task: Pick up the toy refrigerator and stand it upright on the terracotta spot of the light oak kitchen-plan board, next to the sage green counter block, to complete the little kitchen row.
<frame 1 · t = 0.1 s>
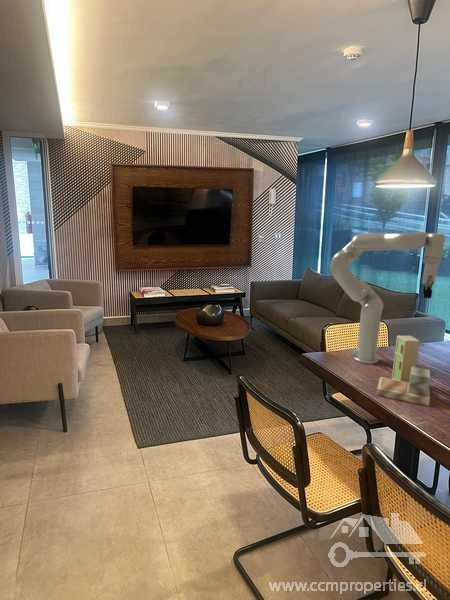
hand: (426, 296, 202), 37 cm above the table, tool pointing down, fingers open, 9 cm apart
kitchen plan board: (402, 393, 181), on the table
toy refrigerator: (401, 382, 193), on the table
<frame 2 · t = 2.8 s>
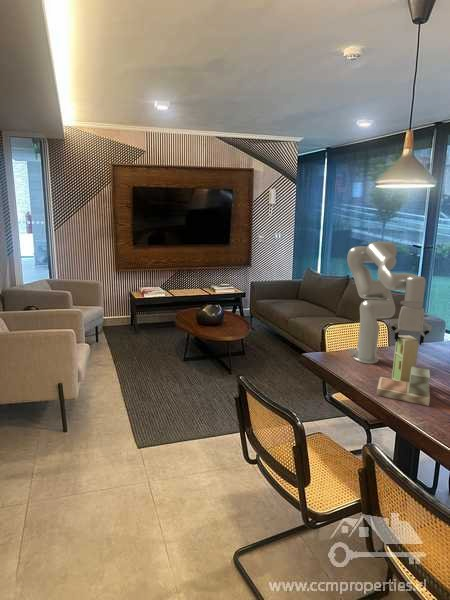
hand: (408, 342, 188), 19 cm above the table, tool pointing down, fingers open, 9 cm apart
toy refrigerator: (401, 382, 193), on the table, touching gripper
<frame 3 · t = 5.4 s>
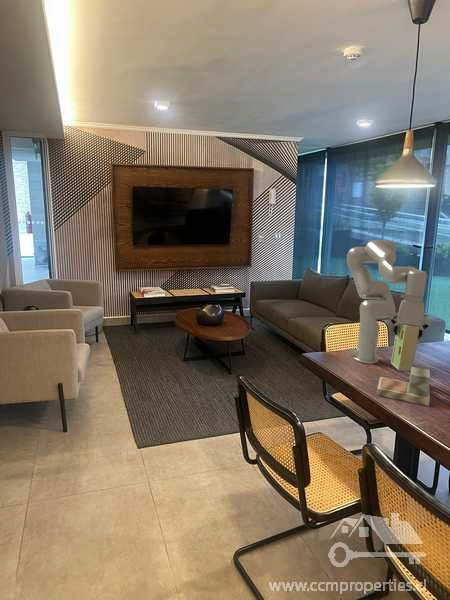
hand: (407, 336, 188), 22 cm above the table, tool pointing down, fingers closed on toy refrigerator, 9 cm apart
toy refrigerator: (400, 367, 193), point 6 cm above the table, touching gripper
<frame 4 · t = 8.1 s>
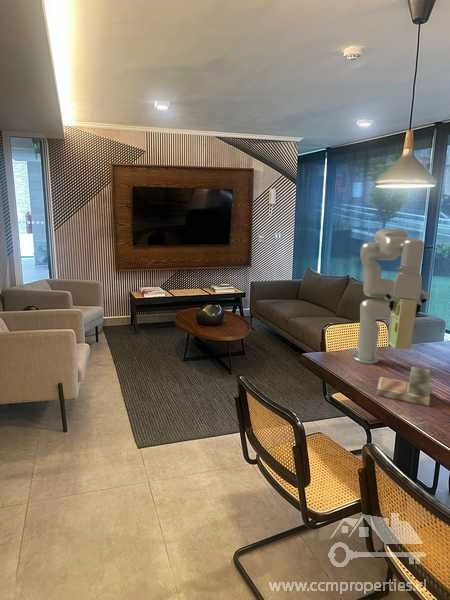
hand: (403, 311, 174), 35 cm above the table, tool pointing down, fingers closed on toy refrigerator, 9 cm apart
toy refrigerator: (397, 346, 179), point 20 cm above the table, touching gripper
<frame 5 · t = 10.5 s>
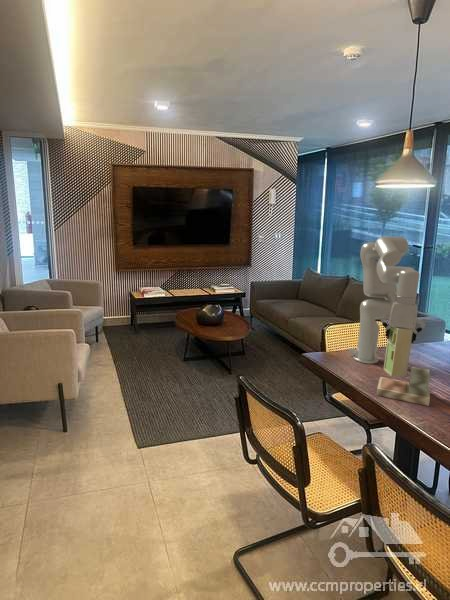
hand: (399, 340, 177), 23 cm above the table, tool pointing down, fingers closed on toy refrigerator, 9 cm apart
toy refrigerator: (393, 373, 181), point 8 cm above the table, touching gripper
when the fingers open (19 cm above the table, at t = 12.6 s): toy refrigerator stays where it is, resting on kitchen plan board.
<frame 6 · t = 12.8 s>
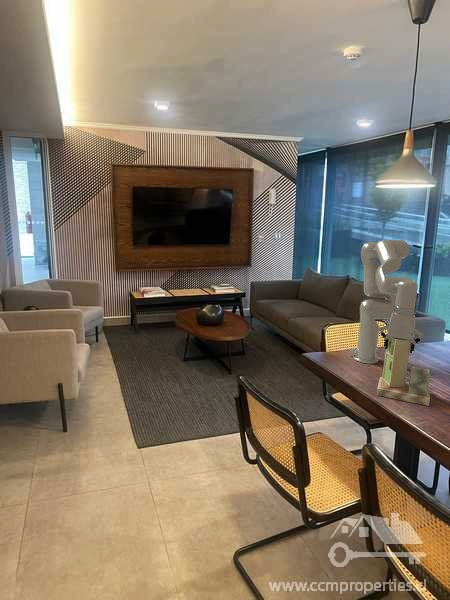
hand: (398, 350, 178), 19 cm above the table, tool pointing down, fingers open, 9 cm apart
toy refrigerator: (391, 384, 183), point 3 cm above the table, touching gripper, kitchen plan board
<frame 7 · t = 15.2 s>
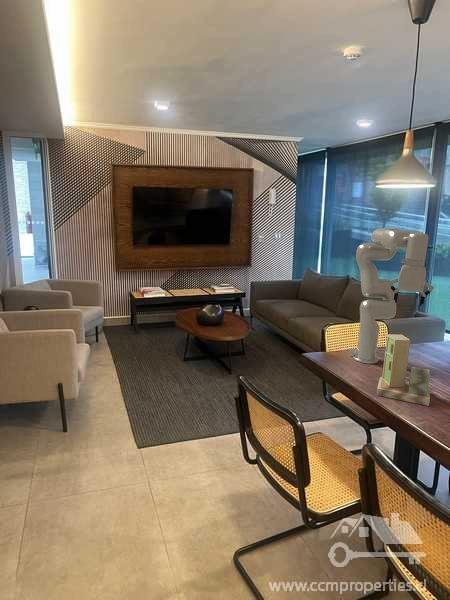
hand: (408, 303, 179), 38 cm above the table, tool pointing down, fingers open, 9 cm apart
toy refrigerator: (391, 384, 183), point 3 cm above the table, touching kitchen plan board
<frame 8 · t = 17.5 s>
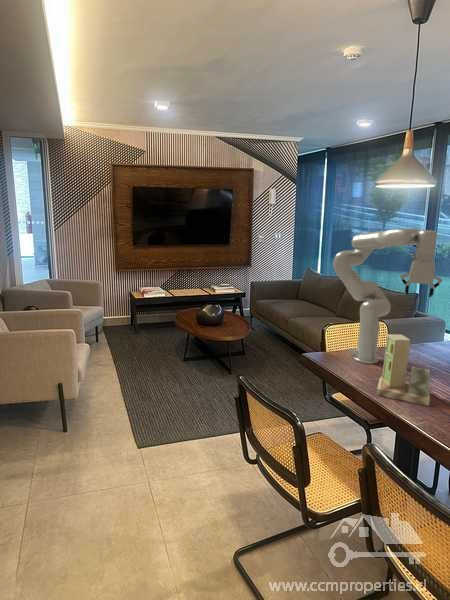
hand: (418, 295, 194), 38 cm above the table, tool pointing down, fingers open, 9 cm apart
nothing on the table moved.
at the end: toy refrigerator 1.2 cm from the target spot on the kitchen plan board, point 3.0 cm above the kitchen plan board's base; toy refrigerator tilted 0°; the gripper is holding nothing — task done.
